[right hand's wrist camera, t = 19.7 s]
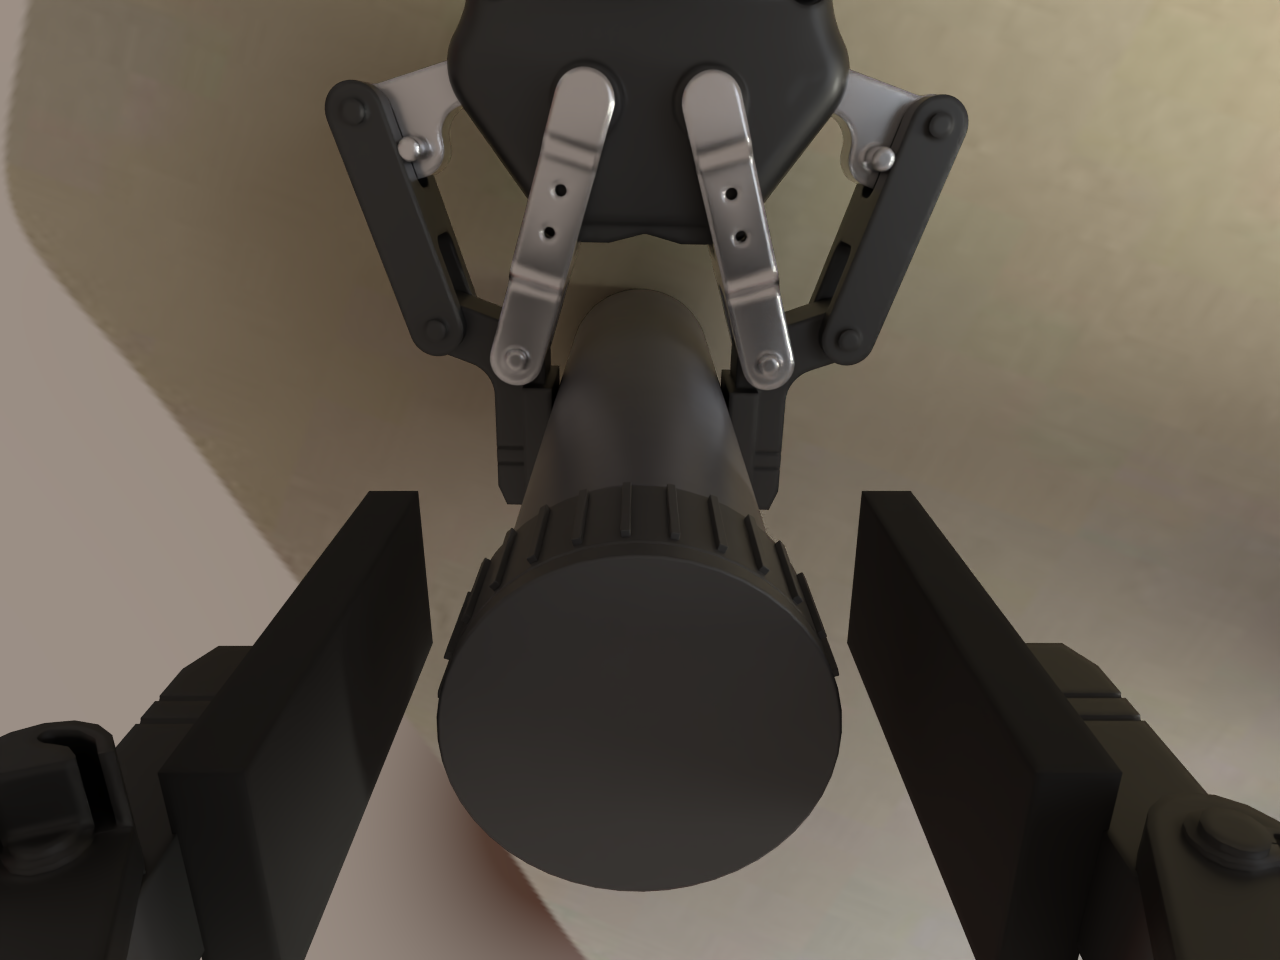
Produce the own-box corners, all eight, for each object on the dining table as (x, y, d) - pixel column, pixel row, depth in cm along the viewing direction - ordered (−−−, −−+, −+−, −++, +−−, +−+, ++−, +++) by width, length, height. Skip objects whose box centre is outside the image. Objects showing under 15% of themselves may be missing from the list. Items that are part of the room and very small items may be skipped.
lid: (455, 770, 13) (423, 880, 11) (470, 459, 11) (434, 526, 9) (783, 799, 13) (808, 913, 11) (847, 497, 11) (887, 572, 10)
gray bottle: (735, 351, 28) (879, 685, 11) (644, 446, 29) (651, 880, 12) (634, 259, 27) (623, 473, 10) (545, 361, 28) (402, 708, 11)
